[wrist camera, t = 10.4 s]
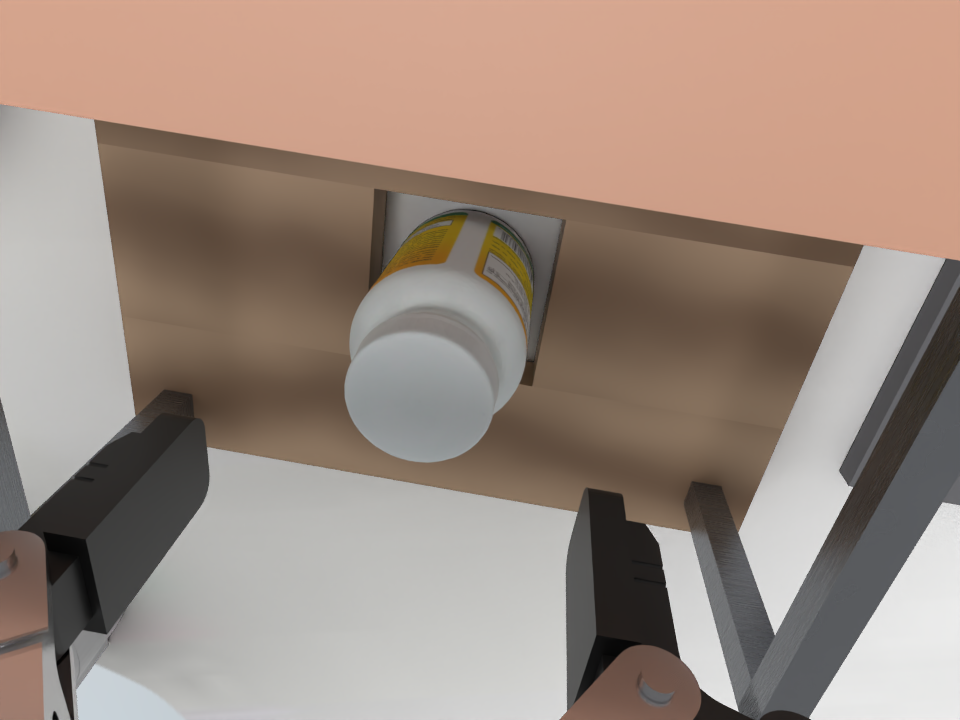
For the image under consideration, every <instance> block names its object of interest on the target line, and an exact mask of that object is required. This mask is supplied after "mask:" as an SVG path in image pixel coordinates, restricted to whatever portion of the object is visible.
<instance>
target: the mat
mask: <svg viewBox="0 0 960 720" xmlns="http://www.w3.org/2000/svg"><path fill="white" fill-rule="evenodd" d="M959 286H960V261H959V260H953V259H946V261H945V263H944V265H943V267H942V269H941V271H940V273H939V275H938V277H937V279H936V281H935V283H934V285H933V287H932V289H931V291H930V293H929V295H928V297H927V299H926V301H925V303H924V305H923V307H922V309H921V311H920V313H919V315H918V317H917V319H916V320H915V322H914V324H913V326H912V328H911V330H910V332H909V334H908V336H907V338H906V340H905V342H904V344H903V346H902V348H901V350H900V352H899V354H898V356H897V358H896V360H895V362H894V364H893V366H892V368H891V370H890V372H889V374H888V376H887V378H886V380H885V382H884V384H883V386H882V388H881V390H880V392H879V394H878V396H877V398H876V400H875V402H874V404H873V405H872V407H871V409H870V411H869V413H868V415H867V417H866V419H865V421H864V423H863V425H862V427H861V429H860V431H859V433H858V435H857V437H856V439H855V441H854V443H853V445H852V447H851V449H850V451H849V453H848V455H847V457H846V459H845V461H844V463H843V465H842V467H841V469H840V473H841V474H842V476H843V478H844V479H845V481H846V482H847V484H848V486H852V487H854V485H855V483H856V481H857V480H858V478H859V476H860V474H861V472H862V470H863V468H864V466H865V464H866V463H867V461H868V459H869V457H870V455H871V453H872V451H873V449H874V447H875V445H876V444H877V442H878V440H879V438H880V436H881V434H882V432H883V430H884V428H885V426H886V425H887V423H888V421H889V419H890V417H891V415H892V413H893V411H894V409H895V407H896V406H897V404H898V402H899V400H900V398H901V396H902V394H903V392H904V390H905V389H906V387H907V385H908V383H909V381H910V379H911V377H912V375H913V373H914V371H915V370H916V368H917V366H918V364H919V362H920V360H921V358H922V356H923V354H924V352H925V351H926V349H927V347H928V345H929V343H930V341H931V339H932V337H933V335H934V333H935V332H936V330H937V328H938V326H939V324H940V322H941V320H942V318H943V316H944V315H945V313H946V311H947V309H948V307H949V305H950V303H951V301H952V299H953V297H954V296H955V294H956V292H957V290H958V288H959ZM943 502H945V503H951V504H957V505H960V475H959V476H958V478H957V479H956V481H955V483H954V484H953V486H952V487H951V489H950V491H949V492H948V494H947V496H946V497H945V499H944V500H943Z"/></svg>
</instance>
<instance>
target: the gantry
mask: <svg viewBox="0 0 960 720" xmlns="http://www.w3.org/2000/svg"><path fill="white" fill-rule="evenodd" d="M162 413H172V414H177V415H183V416H189V417H194V408H193V396H192V394H188V393H182V392H176V391H170V390H165V389H164V390H163V391H162V392H161V393H160V394H159V395H158V396H157V397H156V398H154V399H153V400H152V401H151V402H150V403H149V404H148V405H147V406H146V407H145V408H144V409H143V410H142V411H141V412H140V413H139V414H138V415H136V416H135V417H134V418H133V419H132V420H131V421H130V422H129V423H128V424H127V425H126V426H125V427H124V428H123V429H122V430H121V431H120V432H119V433H117V434H116V435H115V436H114V437H113V438H112V439H111V440H110V441H109V442H108V443H107V444H106V445H108V444H110V443H111V442H113V441H115V440H117V439H119V438H121V437H123V436H125V435H127V434H129V433H131V432H137V433H141V432H142V431H143V430H144V429H145V428H146V427H147V426H148V425H149V424H150V423H151V422H152V421H153V420H154V419H155V418H156V417H157V416H159V415H160V414H162ZM106 445H105V446H106ZM105 446H104V447H105ZM104 447H103V448H104ZM103 448H102V449H103ZM102 449H101V450H102ZM101 450H99V451H98V452H97V453H96V454H95V455H94V456H93V457H92V458H91V459H90V460H89V461H88V462H87V463H86V464H85V465H89V462H90V461H91V460H92V459H93V458H94V457H95V456H96V455H97V454H98V453H99V452H100V451H101ZM85 465H84V466H85ZM84 466H83V467H84ZM83 467H81V468H80V469H79V470H78V471H77V472H76V473H75V474H74V475H73V476H72V477H71V478H70V479H69V480H68V481H67V482H69V481H70V480H71V479H74V478H75V475H76V474H77V473H78V472H79V471H80V470H81V469H82V468H83ZM959 475H960V286H959V288H958V290H957V292H956V294H955V296H954V297H953V299H952V301H951V303H950V305H949V307H948V309H947V311H946V313H945V315H944V316H943V318H942V320H941V322H940V324H939V326H938V328H937V330H936V332H935V333H934V335H933V337H932V339H931V341H930V343H929V345H928V347H927V349H926V351H925V352H924V354H923V356H922V358H921V360H920V362H919V364H918V366H917V368H916V370H915V371H914V373H913V375H912V377H911V379H910V381H909V383H908V385H907V387H906V389H905V390H904V392H903V394H902V396H901V398H900V400H899V402H898V404H897V406H896V407H895V409H894V411H893V413H892V415H891V417H890V419H889V421H888V423H887V425H886V426H885V428H884V430H883V432H882V434H881V436H880V438H879V440H878V442H877V444H876V445H875V447H874V449H873V451H872V453H871V455H870V457H869V459H868V461H867V463H866V464H865V466H864V468H863V470H862V472H861V474H860V476H859V478H858V480H857V481H856V483H855V485H854V487H853V489H852V491H851V493H850V495H849V497H848V499H847V500H846V502H845V504H844V506H843V508H842V510H841V512H840V514H839V516H838V518H837V519H836V521H835V523H834V525H833V527H832V529H831V531H830V533H829V535H828V537H827V538H826V540H825V542H824V544H823V546H822V548H821V550H820V552H819V554H818V555H817V557H816V559H815V561H814V563H813V565H812V567H811V569H810V571H809V573H808V574H807V576H806V578H805V580H804V582H803V584H802V586H801V588H800V590H799V592H798V593H797V595H796V597H795V599H794V601H793V603H792V605H791V607H790V609H789V611H788V612H787V614H786V616H785V618H784V620H783V622H782V624H781V626H780V628H779V629H778V631H777V633H776V635H774V632H773V629H772V626H771V624H770V621H769V618H768V615H767V612H766V610H765V607H764V604H763V601H762V599H761V596H760V593H759V590H758V587H757V585H756V582H755V579H754V576H753V573H752V571H751V568H750V565H749V562H748V559H747V557H746V554H745V551H744V548H743V545H742V543H741V540H740V537H739V534H738V531H737V529H736V526H735V523H734V520H733V517H732V515H731V512H730V509H729V506H728V504H727V501H726V498H725V495H724V492H723V490H722V487H721V486H717V485H712V484H706V483H700V482H694V481H692V482H691V485H690V487H689V490H688V493H687V495H686V498H685V501H684V508H685V512H686V515H687V519H688V523H689V527H690V530H691V534H692V538H693V542H694V545H695V549H696V553H697V557H698V560H699V564H700V568H701V572H702V575H703V579H704V583H705V587H706V590H707V594H708V598H709V602H710V605H711V609H712V613H713V617H714V620H715V624H716V628H717V632H718V635H719V639H720V643H721V647H722V650H723V654H724V658H725V662H726V665H727V669H728V673H729V677H730V680H731V684H732V688H733V692H734V695H735V699H736V703H737V707H738V710H739V713H741V714H743V715H745V716H747V717H749V718H752V719H754V720H759V719H760V718H761V717H762V716H763V715H765V714H766V713H769V712H771V711H776V710H785V711H791V712H795V713H798V714H800V715H803V716H805V717H807V718H809V717H810V715H811V713H812V712H813V710H814V709H815V707H816V705H817V704H818V702H819V700H820V699H821V697H822V696H823V694H824V692H825V691H826V689H827V688H828V686H829V684H830V683H831V681H832V679H833V678H834V676H835V675H836V673H837V671H838V670H839V668H840V667H841V665H842V663H843V662H844V660H845V659H846V657H847V655H848V654H849V652H850V650H851V649H852V647H853V646H854V644H855V642H856V641H857V639H858V638H859V636H860V634H861V633H862V631H863V629H864V628H865V626H866V625H867V623H868V621H869V620H870V618H871V617H872V615H873V613H874V612H875V610H876V608H877V607H878V605H879V604H880V602H881V600H882V599H883V597H884V596H885V594H886V592H887V591H888V589H889V587H890V586H891V584H892V583H893V581H894V579H895V578H896V576H897V575H898V573H899V571H900V570H901V568H902V567H903V565H904V563H905V562H906V560H907V558H908V557H909V555H910V554H911V552H912V550H913V549H914V547H915V546H916V544H917V542H918V541H919V539H920V537H921V536H922V534H923V533H924V531H925V529H926V528H927V526H928V525H929V523H930V521H931V520H932V518H933V516H934V515H935V513H936V512H937V510H938V508H939V507H940V505H941V504H942V502H943V500H944V499H945V497H946V496H947V494H948V492H949V491H950V489H951V487H952V486H953V484H954V483H955V481H956V479H957V478H958V476H959ZM67 482H66V483H67ZM66 483H65V484H66ZM65 484H63V485H62V486H61V487H60V488H59V489H58V490H57V491H56V492H55V493H54V494H53V495H52V496H51V497H50V498H49V499H48V500H47V501H45V502H44V503H43V504H42V505H41V506H40V507H39V508H38V509H37V510H36V511H35V512H34V513H33V514H32V515H31V516H30V513H29V509H28V505H27V501H26V497H25V493H24V489H23V485H22V481H21V477H20V473H19V470H18V466H17V462H16V458H15V454H14V450H13V446H12V442H11V438H10V434H9V431H8V427H7V423H6V419H5V415H4V411H3V407H2V403H1V399H0V532H2V531H11V530H18V529H19V528H20V527H21V526H22V525H23V524H24V523H26V522H27V521H28V520H29V519H30V518H31V517H32V516H33V515H34V514H35V513H36V512H37V511H38V510H39V509H40V508H41V507H42V506H43V505H44V504H45V503H47V502H48V501H49V500H50V499H51V498H52V497H53V496H54V495H55V494H56V493H57V492H58V491H59V490H60V489H61V488H62V487H63V486H64V485H65Z"/></svg>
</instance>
